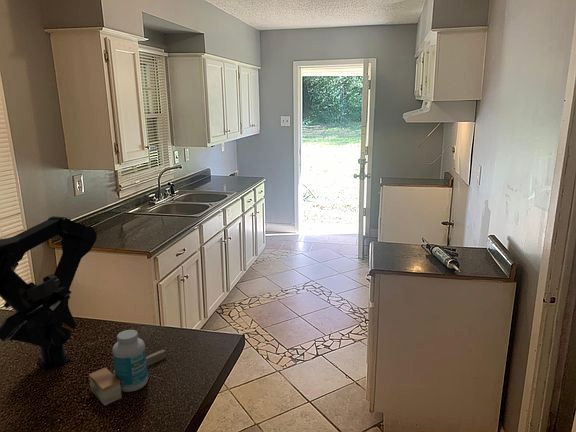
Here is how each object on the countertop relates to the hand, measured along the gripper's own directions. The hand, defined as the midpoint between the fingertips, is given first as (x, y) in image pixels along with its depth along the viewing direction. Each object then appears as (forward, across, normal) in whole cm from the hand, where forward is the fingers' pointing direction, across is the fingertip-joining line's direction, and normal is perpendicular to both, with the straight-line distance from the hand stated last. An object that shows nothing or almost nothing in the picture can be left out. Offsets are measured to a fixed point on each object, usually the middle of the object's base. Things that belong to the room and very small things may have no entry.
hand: (62, 336), depth 103 cm
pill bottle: (+20, +4, 0) cm, 20 cm away
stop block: (+17, -1, +2) cm, 17 cm away
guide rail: (+19, +11, 0) cm, 22 cm away
